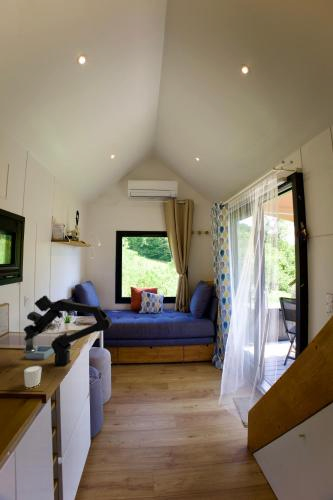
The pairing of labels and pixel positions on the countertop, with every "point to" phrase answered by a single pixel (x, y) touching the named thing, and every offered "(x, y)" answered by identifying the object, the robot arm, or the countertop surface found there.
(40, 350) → the pin tray
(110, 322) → the robot arm
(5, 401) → the countertop surface
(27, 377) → the white cup
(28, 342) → the pin
